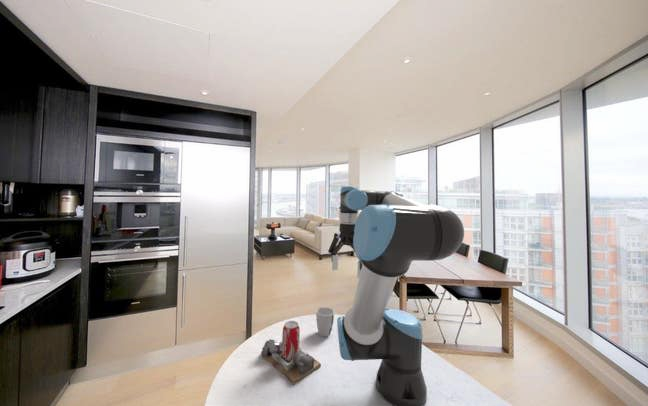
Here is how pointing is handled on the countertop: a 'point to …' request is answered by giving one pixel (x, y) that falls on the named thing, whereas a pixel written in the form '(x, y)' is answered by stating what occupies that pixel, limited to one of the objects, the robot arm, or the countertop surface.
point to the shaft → (271, 348)
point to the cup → (324, 320)
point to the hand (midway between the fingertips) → (346, 273)
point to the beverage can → (290, 340)
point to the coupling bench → (294, 365)
